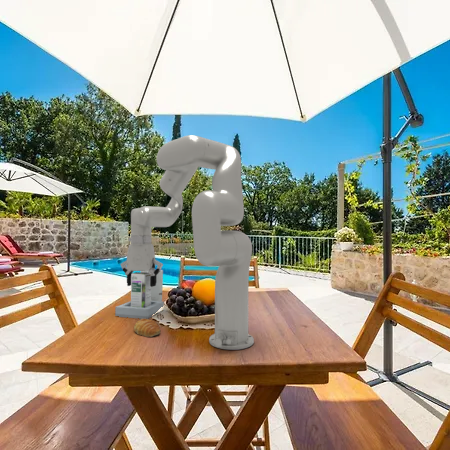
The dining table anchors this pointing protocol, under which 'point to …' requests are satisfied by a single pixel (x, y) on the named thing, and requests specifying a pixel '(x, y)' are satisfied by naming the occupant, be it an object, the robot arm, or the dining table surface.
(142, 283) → the syrup box
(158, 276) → the skincare box
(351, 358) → the dining table surface
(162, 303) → the socket block
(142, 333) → the pastry
